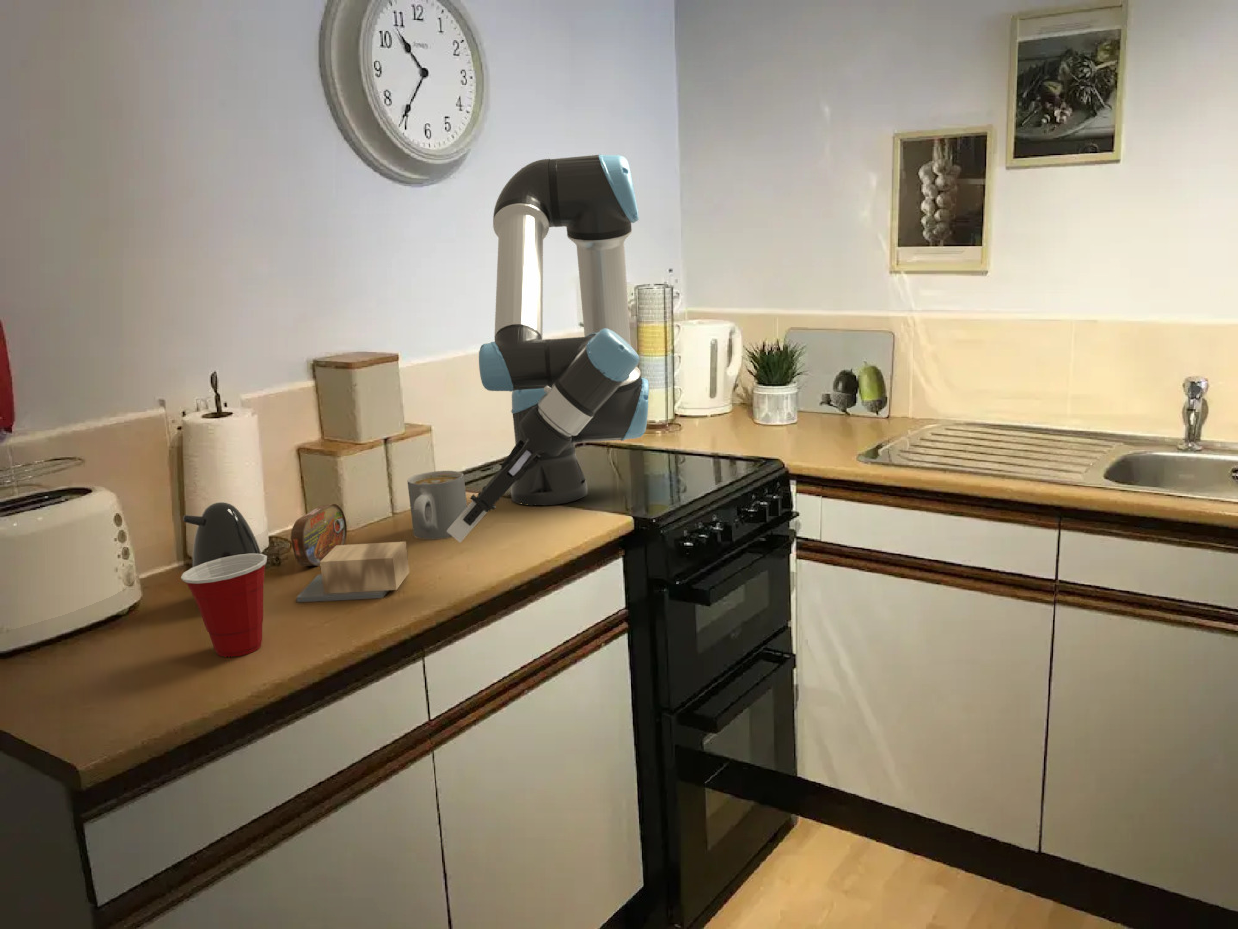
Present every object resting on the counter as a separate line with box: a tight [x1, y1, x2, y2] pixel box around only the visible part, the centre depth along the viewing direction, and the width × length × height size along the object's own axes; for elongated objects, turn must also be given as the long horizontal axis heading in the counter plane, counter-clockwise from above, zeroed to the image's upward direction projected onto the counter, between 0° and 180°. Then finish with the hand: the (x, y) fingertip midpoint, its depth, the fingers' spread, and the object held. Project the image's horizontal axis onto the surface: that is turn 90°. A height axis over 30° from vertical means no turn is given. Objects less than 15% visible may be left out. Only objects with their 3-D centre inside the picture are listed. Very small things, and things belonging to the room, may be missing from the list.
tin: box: [290, 503, 348, 567], centre depth 174 cm, size 15×3×8 cm, turn 168°
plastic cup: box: [180, 553, 268, 658], centre depth 136 cm, size 11×11×12 cm
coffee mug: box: [407, 470, 468, 540], centre depth 183 cm, size 13×10×10 cm
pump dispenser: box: [182, 501, 266, 570], centre depth 156 cm, size 10×10×15 cm
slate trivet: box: [296, 574, 389, 603], centre depth 158 cm, size 13×10×1 cm
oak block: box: [319, 541, 410, 594], centre depth 157 cm, size 5×8×11 cm
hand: (454, 535), depth 156 cm, fingers closed
